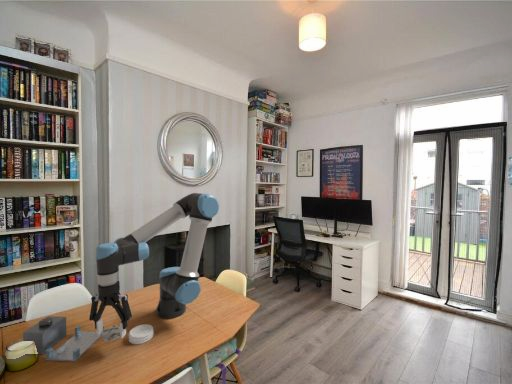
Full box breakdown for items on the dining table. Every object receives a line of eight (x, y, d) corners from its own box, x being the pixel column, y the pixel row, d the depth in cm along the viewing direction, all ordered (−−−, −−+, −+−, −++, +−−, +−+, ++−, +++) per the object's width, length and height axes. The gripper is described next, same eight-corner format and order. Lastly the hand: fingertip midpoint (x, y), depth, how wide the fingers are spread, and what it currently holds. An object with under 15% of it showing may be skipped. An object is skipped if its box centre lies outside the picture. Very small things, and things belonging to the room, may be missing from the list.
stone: (100, 334, 105) (99, 328, 105) (119, 327, 110) (119, 321, 110) (103, 346, 98) (102, 339, 97) (124, 338, 102) (123, 332, 102)
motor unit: (104, 333, 115) (104, 310, 115) (75, 361, 98) (74, 334, 97) (54, 331, 116) (54, 309, 116) (16, 359, 98) (15, 333, 98)
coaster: (137, 348, 106) (137, 339, 106) (124, 339, 111) (123, 332, 111) (158, 335, 114) (158, 328, 114) (144, 328, 120) (144, 321, 120)
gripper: (139, 278, 105) (142, 330, 107) (89, 278, 106) (92, 330, 108) (130, 286, 98) (133, 342, 99) (75, 286, 99) (79, 341, 100)
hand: (111, 335), depth 103 cm, fingers closed on stone, 9 cm apart
